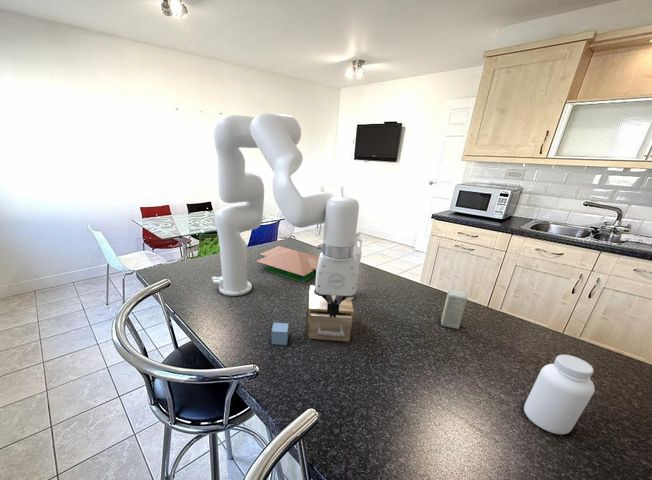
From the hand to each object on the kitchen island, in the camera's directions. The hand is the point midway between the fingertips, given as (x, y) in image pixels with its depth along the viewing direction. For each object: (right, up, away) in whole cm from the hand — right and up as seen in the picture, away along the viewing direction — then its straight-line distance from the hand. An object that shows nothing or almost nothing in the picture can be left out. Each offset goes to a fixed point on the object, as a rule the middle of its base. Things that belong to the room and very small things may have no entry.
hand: (332, 314), depth 79 cm
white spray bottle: (+11, +3, +32) cm, 34 cm away
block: (-14, -8, +6) cm, 18 cm away
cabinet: (+1, -5, +14) cm, 15 cm away
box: (+40, -5, +16) cm, 43 cm away
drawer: (0, -6, +9) cm, 11 cm away
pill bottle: (+43, -20, -17) cm, 50 cm away
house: (-10, +14, +56) cm, 59 cm away
